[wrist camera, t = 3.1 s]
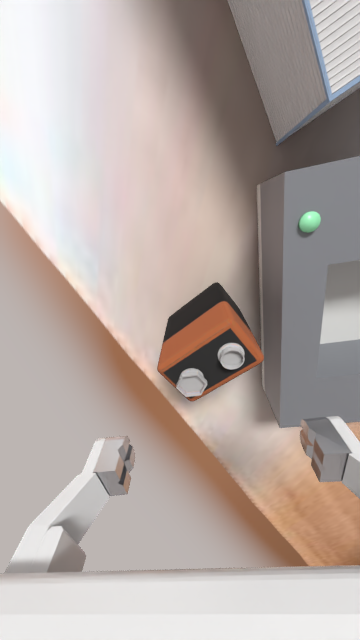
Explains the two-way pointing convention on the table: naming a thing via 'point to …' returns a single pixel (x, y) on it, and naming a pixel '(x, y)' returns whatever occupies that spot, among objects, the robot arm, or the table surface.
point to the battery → (207, 344)
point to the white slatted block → (300, 56)
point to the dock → (311, 291)
